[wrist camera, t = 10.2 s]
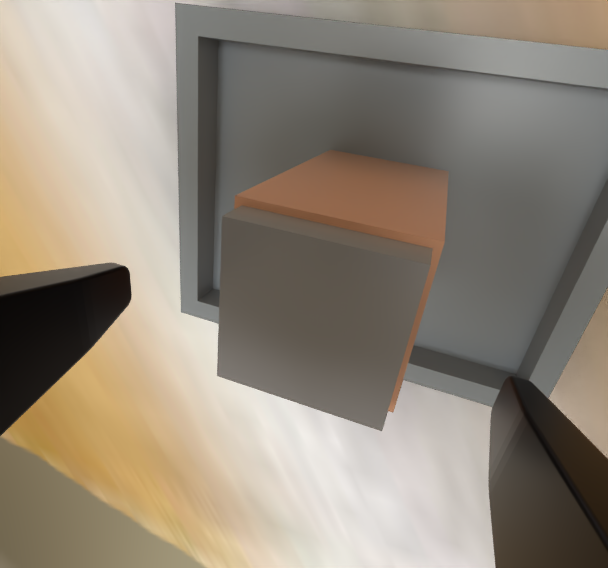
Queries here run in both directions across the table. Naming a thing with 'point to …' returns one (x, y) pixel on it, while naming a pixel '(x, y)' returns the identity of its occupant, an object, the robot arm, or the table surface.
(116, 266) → the robot arm
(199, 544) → the table surface
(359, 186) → the tall box
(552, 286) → the tray
